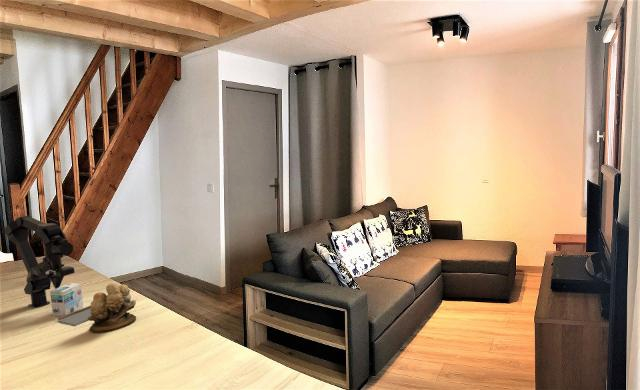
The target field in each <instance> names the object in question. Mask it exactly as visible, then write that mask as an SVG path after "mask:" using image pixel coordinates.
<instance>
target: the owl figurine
mask: <svg viewBox="0 0 640 390" xmlns="http://www.w3.org/2000/svg"><path fill="white" fill-rule="evenodd" d="M105 289H106V290H105V291H106V293H107V294H106V293H105V292H102V291H98V292H96V293H94V295H93V300H92V301H91V302H90V305H91V308H90V310H91V311H90V313H91V314H92V315H90V316H89V317H88V322H89V321H90V322H92V321H93V322H94V323H93V322H92V324H91V326H90V327H89V332H90V333H92V334H105V333H109V332H113V331H118V330H120V329H123V328H126V327H128V326H131V325H132V324H134V323H135V322H136V321H137V316H136V315H134V314H133V313H131V312H128V311H131V310H132V309H134V308H135V305H136V302H137V300H135V299H133V300H131V299H132V295H131V294H130V293H131V291H130V288H129V285H127V284H120V285H118V284H117V283H115V282H110V283H108V284H107V285H106V287H105Z"/></svg>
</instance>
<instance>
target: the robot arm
mask: <svg viewBox="0 0 640 390" xmlns="http://www.w3.org/2000/svg"><path fill="white" fill-rule="evenodd" d="M29 230H31V231H33V232H35V233H37V236H38V238H41V242H40V244H42V245H43V250H44V256H43V258H42V261H41V262H39V263H38V260H37V257H36V255H35V253H34V251H33V249H32V246H31V244H30V241H29V235H30V231H29ZM4 234H5V235H6V236H7V239H8V241H10V242H11V243H13V244H15V246H16V248H17V251H18V253H19V255H20V258H21V260H22V262H23V264H24V267H25V269H26V272H27V276H26V279H25V280H26V284H25V286H24V288H23V291H24V294H25V295H29V296H30V301H31V303H30V304H28V305H27V306H28V307H31V308H40V307H42V306H46V305H48V304H51V301H48V299H47V292H46V291H47V290H50V289H51V285H53V287H54V289H56V288H59V287H61V286H62V285H61V284H62V282H63V279H64V277H66V276H70V275H73V274H74V273H76V272H75V271H76V270H75V268H74V267H73V266H70V265H69V266H68V265H67V266H65V264H64V263H63V262H62V259H63V258H64V257H65V256H66V257H68V256H69V255H71V254H72V253H73V252H74V246H73V244H72V243H71V242H69V241H68V239H67V236H66V233H65V232H64V231H63V230H62V228H61V226H60V225H59V224H57V223H52V222H51V223H46V222H43V221H42V220H38V219H36V218H33V217H32V216H31V215H23V216H19V217H16V218H15V220H14V221H12V222H9V223H8V224H7V225H6V226H5V228H4ZM51 283H52V284H51Z"/></svg>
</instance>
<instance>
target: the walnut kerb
mask: <svg viewBox="0 0 640 390" xmlns="http://www.w3.org/2000/svg"><path fill="white" fill-rule="evenodd" d="M90 308H91V304H90V305H88V306H85V307H83V308H81V309H79V310H77V311H75V312H72V313H69V314H67V315H64V316H58V317H57V321H58V320H61V319H64V318H66V317H69V316H71V315H74V314H77V313H79V312H82V311H84V310H87V309H90Z"/></svg>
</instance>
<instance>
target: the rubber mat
mask: <svg viewBox="0 0 640 390" xmlns="http://www.w3.org/2000/svg"><path fill="white" fill-rule="evenodd" d="M90 311H91V310H90V309H87V310H84V311H82V312H79V313H77V314H74V315H71V316H69V317H66V318H64V319H61V320H58V319H57V322H58V323H61V324H67V325H70V326H74V327H75V326H78V325H80V324H83V323H85V322H89V320H88V317H89V316H90V315H92V314H91V313H90Z"/></svg>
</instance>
